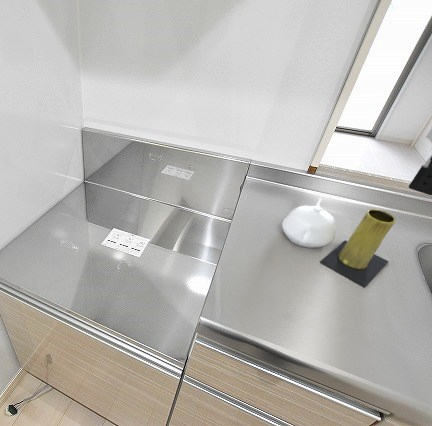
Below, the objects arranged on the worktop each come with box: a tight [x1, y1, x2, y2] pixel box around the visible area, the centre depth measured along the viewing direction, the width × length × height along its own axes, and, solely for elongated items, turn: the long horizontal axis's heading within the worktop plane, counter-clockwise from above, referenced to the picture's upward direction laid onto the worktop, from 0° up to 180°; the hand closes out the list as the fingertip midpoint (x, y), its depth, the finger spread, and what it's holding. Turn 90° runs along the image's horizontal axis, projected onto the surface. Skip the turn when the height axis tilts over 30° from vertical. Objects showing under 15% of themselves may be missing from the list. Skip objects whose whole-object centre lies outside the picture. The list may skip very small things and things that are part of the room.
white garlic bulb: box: [281, 197, 336, 249], centre depth 80 cm, size 20×12×10 cm, turn 142°
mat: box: [319, 239, 389, 289], centre depth 74 cm, size 10×14×1 cm
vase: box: [338, 208, 397, 269], centre depth 70 cm, size 6×6×14 cm
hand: (430, 182), depth 49 cm, fingers open, 9 cm apart
